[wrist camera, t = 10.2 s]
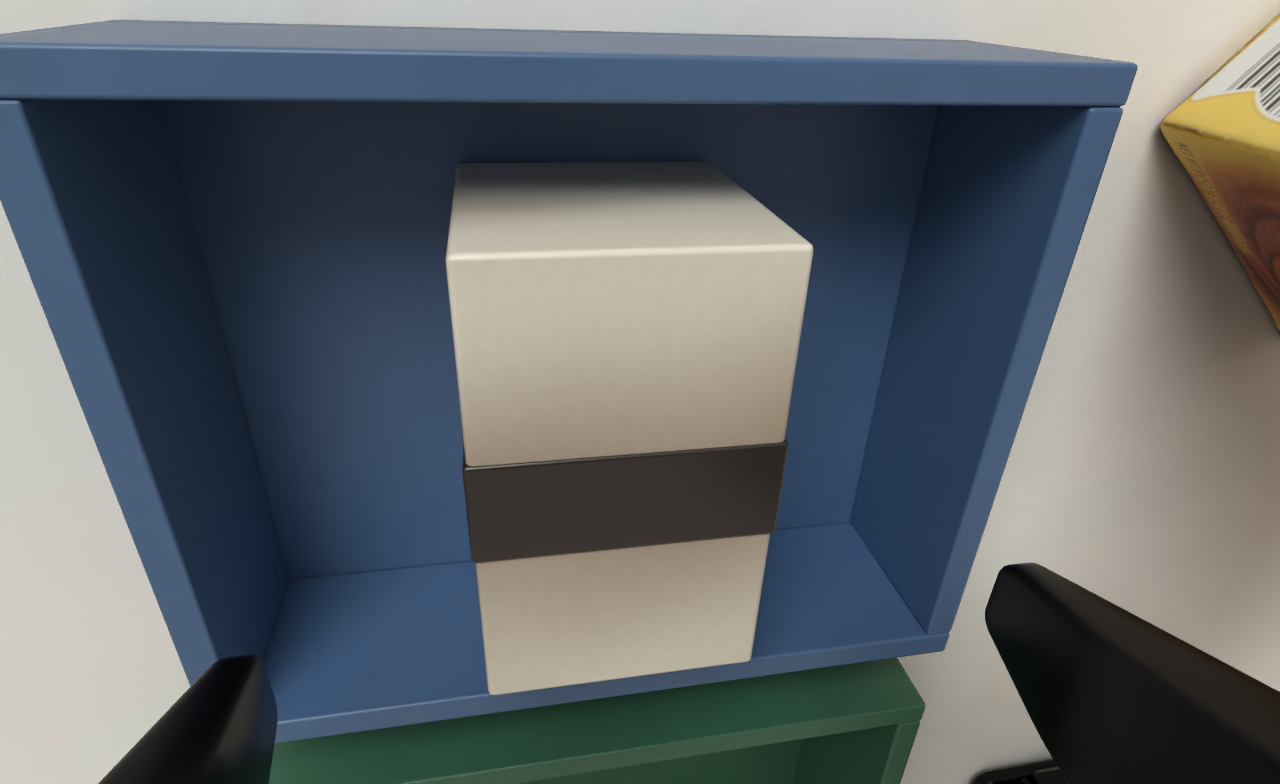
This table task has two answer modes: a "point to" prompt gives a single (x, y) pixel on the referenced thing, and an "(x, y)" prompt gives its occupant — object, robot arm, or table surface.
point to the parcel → (620, 411)
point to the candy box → (1239, 155)
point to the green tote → (647, 737)
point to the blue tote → (422, 329)
